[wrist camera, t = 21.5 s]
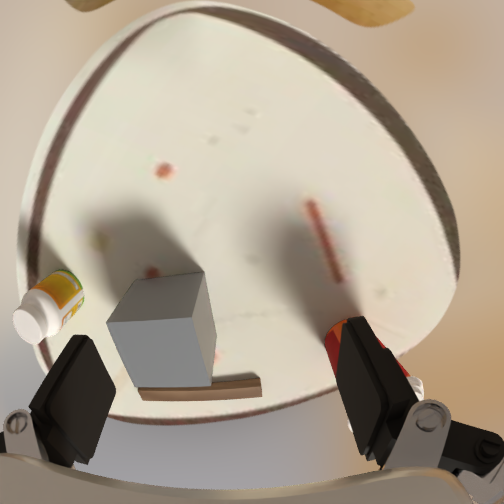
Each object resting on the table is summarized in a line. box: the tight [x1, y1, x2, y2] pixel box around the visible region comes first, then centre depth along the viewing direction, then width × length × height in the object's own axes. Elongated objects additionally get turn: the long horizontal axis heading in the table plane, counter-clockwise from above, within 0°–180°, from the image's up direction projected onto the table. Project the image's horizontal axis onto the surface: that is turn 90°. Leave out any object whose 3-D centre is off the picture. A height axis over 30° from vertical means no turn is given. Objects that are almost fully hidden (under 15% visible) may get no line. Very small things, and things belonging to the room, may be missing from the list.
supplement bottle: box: [13, 270, 84, 344], centre depth 26 cm, size 5×5×10 cm
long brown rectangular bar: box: [138, 378, 262, 401], centre depth 35 cm, size 2×16×2 cm, turn 97°
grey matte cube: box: [106, 272, 217, 387], centre depth 28 cm, size 8×8×9 cm
